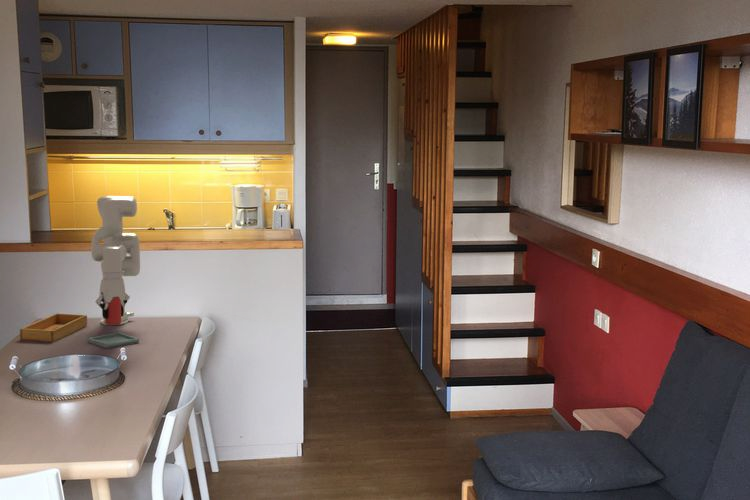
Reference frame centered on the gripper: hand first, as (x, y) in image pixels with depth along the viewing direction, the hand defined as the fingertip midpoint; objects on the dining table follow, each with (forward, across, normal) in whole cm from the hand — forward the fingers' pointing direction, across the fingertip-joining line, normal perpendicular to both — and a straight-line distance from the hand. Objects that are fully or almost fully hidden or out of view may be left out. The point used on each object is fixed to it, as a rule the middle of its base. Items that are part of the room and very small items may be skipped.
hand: (113, 316), depth 350 cm
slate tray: (+11, 0, 0) cm, 11 cm away
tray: (+12, +9, -33) cm, 36 cm away
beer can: (+3, 0, 0) cm, 3 cm away
